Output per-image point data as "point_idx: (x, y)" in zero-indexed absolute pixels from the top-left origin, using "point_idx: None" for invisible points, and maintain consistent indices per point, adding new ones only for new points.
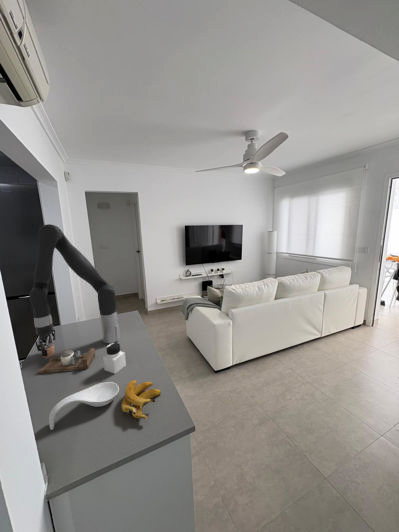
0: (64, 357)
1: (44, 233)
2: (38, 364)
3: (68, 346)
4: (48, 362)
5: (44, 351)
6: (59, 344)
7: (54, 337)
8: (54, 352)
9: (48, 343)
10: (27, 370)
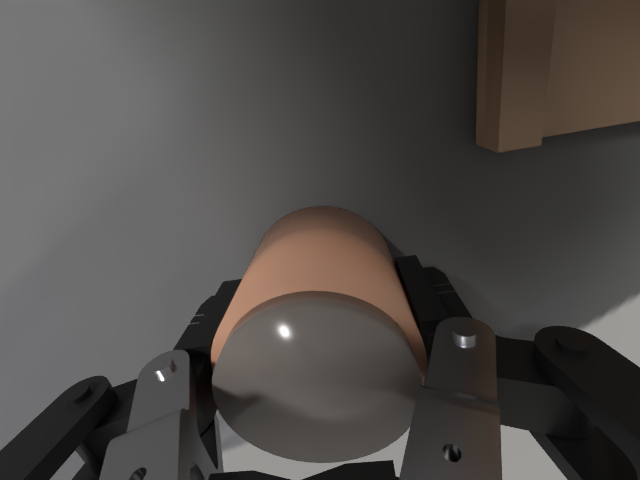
0: None
1: None
2: (527, 256)
3: (76, 139)
4: (557, 129)
5: (471, 316)
6: (80, 302)
7: (43, 441)
8: (296, 219)
9: (255, 408)
10: (631, 295)
